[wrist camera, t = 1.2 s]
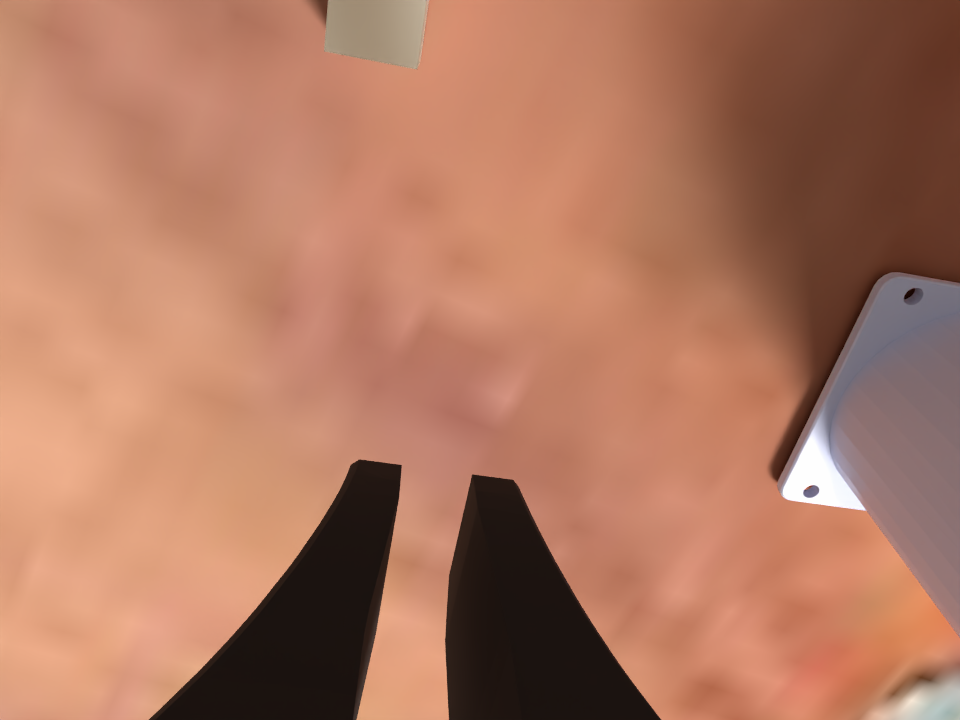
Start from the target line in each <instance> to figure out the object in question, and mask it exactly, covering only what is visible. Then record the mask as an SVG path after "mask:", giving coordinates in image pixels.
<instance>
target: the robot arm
mask: <svg viewBox="0 0 960 720" xmlns="http://www.w3.org/2000/svg"><path fill="white" fill-rule="evenodd" d="M912 288H915V292H914V293H913V295H912V296H911V297H909V298H907V299H904V295H905V294H906V293H907V291H909V290H910V289H912ZM401 466H402V465H397V464H389V463H382V462H374V461H366V460H358V461H356V462H355V463H353V464H351V466H350V468H349V471H348V474H347V476H346V478H345V480H344V483H343V485H342V487H341V489H340V491H339V492H338V494H337V496H336V498H335V500H334V501H333V503H332V505H331V506H330V508H329V510H328V511H327V513H326V515H325V516H324V518H323V519H322V521H321V523H320V524H319V526H318V527H317V528H316V530H315V531H314V533H313V534H312V536H311V537H310V539H309V540H308V541H307V543H306V544H305V546H304V547H303V549H302V550H301V552H300V553H299V555H298V556H297V557H296V559H295V560H294V561H293V563H292V564H291V565H290V567H289V568H288V569H287V571H286V572H285V573H284V574H283V576H282V577H281V578H280V579H279V581H278V582H277V583H276V584H275V586H274V587H273V588H272V589H271V591H270V592H269V593H268V594H267V596H266V597H265V598H264V600H263V601H262V602H261V603H260V605H259V606H258V607H257V608H256V609H255V611H254V612H253V613H252V614H251V615H250V616H249V617H248V619H247V620H246V621H245V622H244V623H243V624H242V626H241V627H240V628H239V629H238V630H237V631H236V632H235V633H234V635H233V636H232V637H231V638H230V639H229V640H228V641H227V642H226V643H225V644H224V645H223V646H222V648H221V649H220V650H219V651H218V652H217V653H216V654H215V655H214V656H213V657H212V658H211V659H210V660H209V661H208V662H207V663H206V664H205V666H204V667H203V668H202V669H201V670H200V671H199V672H198V673H197V674H196V675H195V676H194V677H192V678H191V679H190V680H189V681H188V682H187V683H186V684H185V685H184V686H183V687H182V688H181V689H180V690H179V691H178V692H177V693H176V694H175V695H174V696H173V697H172V698H171V699H170V700H169V701H168V702H167V703H166V704H165V705H164V706H163V707H162V708H161V709H160V710H159V711H158V712H157V713H155V714H154V715H153V716H152V717H151V718H150V719H149V720H356V719H357V714H358V710H359V706H360V701H361V697H362V692H363V688H364V683H365V679H366V675H367V670H368V666H369V661H370V657H371V652H372V648H373V644H374V639H375V635H376V629H377V623H378V617H379V611H380V606H381V600H382V594H383V588H384V582H385V576H386V570H387V565H388V559H389V553H390V547H391V541H392V535H393V529H394V523H395V518H396V512H397V506H398V500H399V491H400V480H401ZM810 485H813V486H812V487H811V488H810V489H807V490H804V489H805V488H806V487H808V486H810ZM777 487H778V490H779V492H780V493H781V495H782V496H783V497H784V498H785V499H787V500H791V501H798V502H805V503H813V504H820V505H828V506H835V507H842V508H850V509H857V510H864V511H867V512H868V514H869V515H870V516H871V518H872V519H873V520H874V522H875V523H876V524H877V526H878V527H879V528H880V530H881V531H882V533H883V534H884V535H885V537H886V538H887V539H888V541H889V542H890V543H891V545H892V546H893V548H894V549H895V550H896V552H897V553H898V554H899V556H900V557H901V558H902V560H903V561H904V563H905V564H906V565H907V567H908V568H909V569H910V571H911V572H912V573H913V575H914V576H915V578H916V579H917V580H918V582H919V583H920V584H921V586H922V587H923V588H924V590H925V591H926V593H927V594H928V595H929V597H930V598H931V599H932V601H933V602H934V603H935V605H936V606H937V607H938V609H939V610H940V612H941V613H942V614H943V616H944V617H945V618H946V620H947V621H948V622H949V624H950V625H951V627H952V628H953V629H954V631H955V632H956V633H957V635H958V636H959V637H960V283H957V282H951V281H945V280H940V279H934V278H928V277H923V276H917V275H912V274H906V273H900V272H891V273H889V274H886V275H884V276H882V277H881V278H880V279H878V281H877V282H876V284H875V285H874V287H873V289H872V291H871V293H870V295H869V297H868V299H867V301H866V303H865V305H864V307H863V309H862V311H861V313H860V315H859V317H858V319H857V321H856V323H855V325H854V327H853V329H852V331H851V333H850V335H849V337H848V340H847V342H846V344H845V346H844V348H843V350H842V352H841V354H840V356H839V358H838V360H837V362H836V364H835V366H834V368H833V370H832V372H831V374H830V376H829V378H828V380H827V382H826V384H825V386H824V388H823V390H822V392H821V394H820V397H819V399H818V401H817V403H816V405H815V407H814V409H813V411H812V413H811V415H810V417H809V419H808V421H807V423H806V425H805V427H804V429H803V431H802V433H801V435H800V437H799V439H798V441H797V443H796V445H795V447H794V449H793V452H792V454H791V456H790V458H789V460H788V462H787V464H786V466H785V468H784V470H783V472H782V474H781V476H780V478H779V480H778V483H777ZM445 645H446V667H447V688H448V708H449V720H661V719H660V718H659V716H658V715H657V714H656V713H655V711H654V710H653V709H652V707H651V706H650V705H649V703H648V702H647V701H646V699H645V698H644V697H643V696H642V694H641V693H640V692H639V690H638V689H637V688H636V686H635V685H634V684H633V682H632V681H631V680H630V678H629V677H628V675H627V674H626V673H625V671H624V670H623V669H622V667H621V666H620V664H619V663H618V661H617V660H616V658H615V657H614V656H613V654H612V653H611V651H610V650H609V648H608V647H607V645H606V644H605V642H604V641H603V639H602V638H601V636H600V635H599V633H598V632H597V630H596V628H595V627H594V625H593V624H592V622H591V621H590V619H589V618H588V616H587V614H586V613H585V611H584V610H583V608H582V606H581V605H580V603H579V601H578V600H577V598H576V596H575V595H574V593H573V591H572V589H571V588H570V586H569V584H568V583H567V581H566V579H565V577H564V576H563V574H562V572H561V570H560V569H559V567H558V565H557V563H556V562H555V560H554V558H553V556H552V554H551V552H550V551H549V549H548V547H547V545H546V543H545V541H544V539H543V537H542V535H541V533H540V531H539V529H538V527H537V525H536V523H535V521H534V519H533V517H532V515H531V513H530V511H529V509H528V507H527V504H526V502H525V500H524V498H523V496H522V494H521V491H520V489H519V487H518V486H517V484H516V483H515V482H514V480H510V479H502V478H495V477H487V476H479V475H472V478H471V483H470V487H469V491H468V496H467V500H466V504H465V509H464V513H463V518H462V522H461V526H460V531H459V535H458V539H457V544H456V548H455V552H454V557H453V561H452V566H451V570H450V574H449V587H448V602H447V619H446V638H445Z"/></svg>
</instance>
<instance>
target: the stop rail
mask: <svg viewBox="0 0 960 720" xmlns="http://www.w3.org/2000/svg"><path fill="white" fill-rule="evenodd" d="M428 3H429V0H328V8H327V21H326V34H325V47H324V51H325V52H330V53H335V54H341V55H346V56H351V57H356V58H361V59H366V60H371V61H376V62H381V63H387V64H392V65H397V66H402V67H407V68H412V69H417V68H418V66H419V63H420V60H421V54H422V47H423V40H424V33H425V25H426V18H427V11H428Z"/></svg>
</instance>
